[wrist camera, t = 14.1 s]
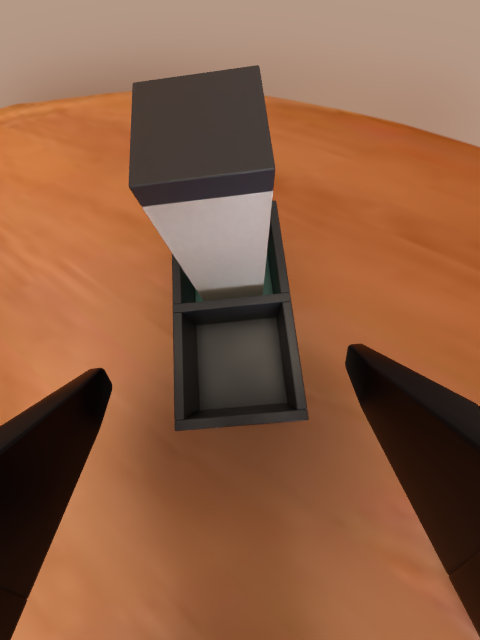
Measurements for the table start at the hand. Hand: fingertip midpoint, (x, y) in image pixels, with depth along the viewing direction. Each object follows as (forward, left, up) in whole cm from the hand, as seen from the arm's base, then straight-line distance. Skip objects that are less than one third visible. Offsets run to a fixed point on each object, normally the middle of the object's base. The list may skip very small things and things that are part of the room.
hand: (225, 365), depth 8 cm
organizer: (+3, +3, -10) cm, 11 cm away
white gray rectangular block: (+5, +6, -9) cm, 12 cm away
